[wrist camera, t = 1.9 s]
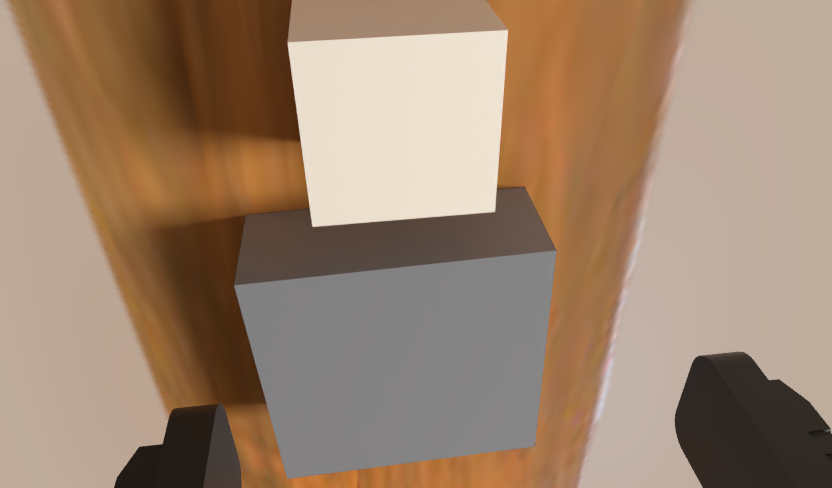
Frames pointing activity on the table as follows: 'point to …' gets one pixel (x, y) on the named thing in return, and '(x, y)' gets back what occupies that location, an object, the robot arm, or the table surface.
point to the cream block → (398, 107)
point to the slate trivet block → (398, 333)
